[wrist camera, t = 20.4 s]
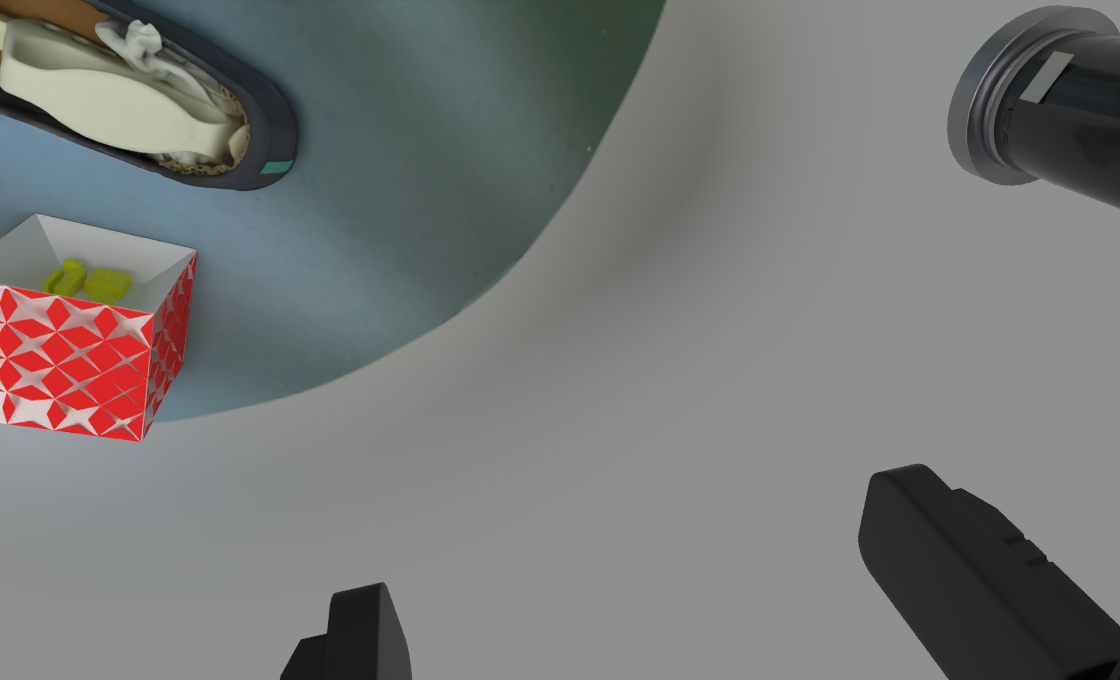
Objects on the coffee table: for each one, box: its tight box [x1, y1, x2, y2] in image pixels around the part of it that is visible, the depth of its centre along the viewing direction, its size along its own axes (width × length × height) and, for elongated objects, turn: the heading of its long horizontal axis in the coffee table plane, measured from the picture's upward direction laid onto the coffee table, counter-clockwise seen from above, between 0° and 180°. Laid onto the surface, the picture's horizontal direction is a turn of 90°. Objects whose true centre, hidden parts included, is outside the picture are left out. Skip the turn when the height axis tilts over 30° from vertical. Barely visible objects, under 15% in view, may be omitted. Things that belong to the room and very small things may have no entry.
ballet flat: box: [0, 0, 299, 191], centre depth 28 cm, size 8×24×8 cm, turn 59°
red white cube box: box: [0, 213, 197, 442], centre depth 35 cm, size 8×8×8 cm
